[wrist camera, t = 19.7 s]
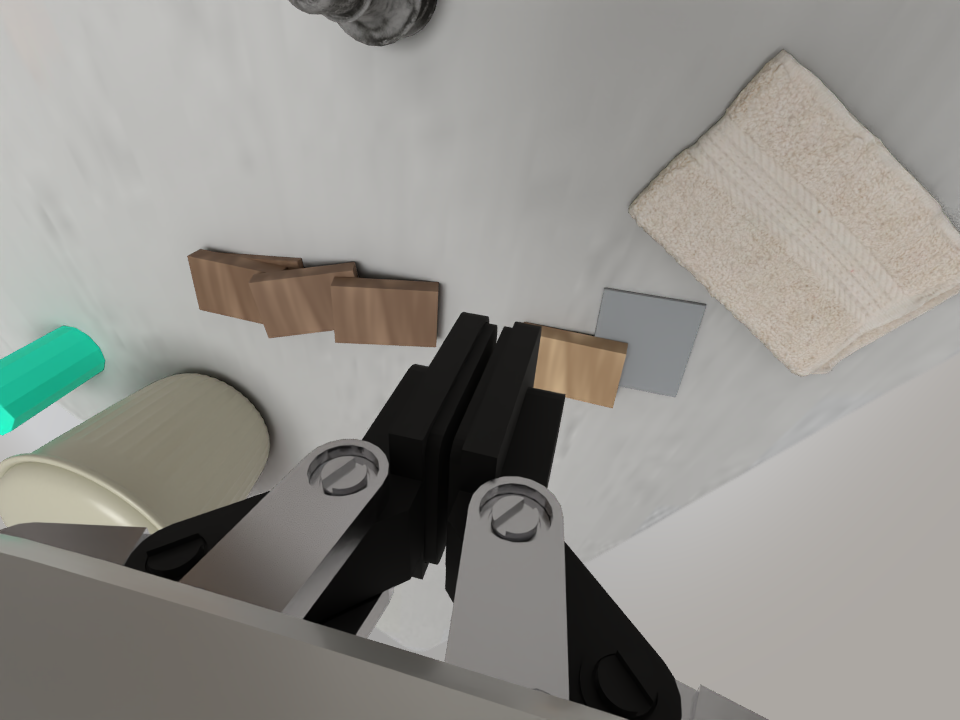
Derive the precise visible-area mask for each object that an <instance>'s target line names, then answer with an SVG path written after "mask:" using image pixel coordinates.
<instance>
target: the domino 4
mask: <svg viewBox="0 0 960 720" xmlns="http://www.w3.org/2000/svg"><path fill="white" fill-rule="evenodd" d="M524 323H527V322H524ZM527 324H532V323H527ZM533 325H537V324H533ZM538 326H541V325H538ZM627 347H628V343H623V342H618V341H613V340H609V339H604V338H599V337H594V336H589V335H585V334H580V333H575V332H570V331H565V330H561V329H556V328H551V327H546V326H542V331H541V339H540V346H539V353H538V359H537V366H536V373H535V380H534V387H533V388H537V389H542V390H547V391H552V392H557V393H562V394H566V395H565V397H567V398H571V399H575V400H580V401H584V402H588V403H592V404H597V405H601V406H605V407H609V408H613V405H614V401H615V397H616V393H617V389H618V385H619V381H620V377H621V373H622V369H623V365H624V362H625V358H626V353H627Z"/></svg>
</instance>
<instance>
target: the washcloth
mask: <svg viewBox="0 0 960 720" xmlns="http://www.w3.org/2000/svg"><path fill="white" fill-rule="evenodd" d="M628 213H629V214H630V215H631V216H632V218H633V219H636V221H637V225H638V226H639V227H643V229H644V231H645V232H647V233H648V234H649V235H650V236H651V237H652V238H653V239H654V240H655V241H657V242H658V243H659V244H660V245H661V246H663V247H664V248H665V250H666V252H667V253H668V254H670V255H671V256H673V257H674V258H675V260H676V262H678V263H679V264H680V265H681V266H682V267H684V268H686V269H687V270H688V271H689V272H690V273H692V274H693V275H694V277H695V278H696V280H697V281H699V282H700V283H702V284H703V285H704V286H705V287H706V289H707V290H708V292H709V294H710V295H711V297H715V298H716V299H717V300H719V301H720V303H722V304H724V306H725V307H726V309H727V310H729V311H731V313H732V314H733V316H734V317H735V318H736V319H738V320H739V321H740V322H741V323H743V324H744V325H746V327H747V328H748V329H749V330H750V331H751V333H752V334H753V335H755V337H756V338H758V339H760V342H761V343H764V345H765V347H766V348H768V349H769V350H770V351H771V352H772V353H773V355H774V357H775V358H777V359H778V360H779V361H781V362H782V363H783V364H784V365H785V366H786V367H787V368H788V369H789V370H791V373H794V374H795V375H798V376H800V377H804V376H807V375H809V374H826V373H829V372H830V371H832V369H833V368H834V367H835V366H836V365H837V364H838V362H839V361H841V360H843V359H844V358H846V357H848V356H849V355H851V354H852V353H853V352H855V351H856V350H858V349H860V348H862V347H864V346H866V345H868V344H870V343H872V342H873V341H875V340H877V339H878V338H880V337H882V336H884V335H885V334H887V333H889V332H891V331H893V330H895V329H896V328H898V327H900V326H902V325H903V324H905V323H907V322H909V321H911V320H913V319H915V318H917V317H919V316H921V315H923V314H924V313H926V312H928V311H929V310H931V309H933V308H934V307H936V306H937V305H939V304H941V303H943V302H944V301H945V300H947V299H949V298H951V297H952V296H954V295H956V294H958V293H959V292H960V232H959V231H958V230H957V229H956V228H955V227H954V226H953V225H952V223H951V221H950V220H949V218H948V217H947V216H946V215H945V214H944V212H943V211H942V207H941V205H940V204H939V203H938V201H937V200H936V199H934V198H933V197H932V196H931V194H930V193H929V192H928V191H927V190H926V189H925V188H924V187H923V186H922V185H921V184H920V183H919V182H918V181H917V180H916V179H915V178H914V177H913V176H912V175H911V174H910V173H909V172H908V171H907V170H906V169H905V168H904V167H903V166H902V165H901V164H900V163H899V162H898V161H897V160H896V159H895V158H894V157H893V156H892V155H891V153H890V152H889V151H888V149H886V148H885V147H884V145H883V143H882V142H881V141H880V140H879V139H878V138H877V137H876V136H875V135H873V134H871V132H870V131H869V130H868V129H867V128H865V127H864V126H863V125H862V124H861V123H860V122H859V121H858V120H857V119H856V118H855V117H854V116H853V115H852V114H851V113H850V112H849V111H848V110H847V109H846V108H845V106H844V105H843V104H842V103H841V101H840V100H839V99H838V98H837V97H836V95H835V94H834V93H832V92H831V91H830V90H829V89H828V88H827V87H826V86H825V85H824V84H823V83H822V82H821V80H820V79H819V78H817V77H816V76H815V75H814V74H813V73H811V71H810V70H808V69H806V68H805V67H803V66H802V65H800V64H799V63H798V62H797V61H796V60H795V59H794V57H793V56H792V55H790V54H789V53H788V52H786V51H785V50H784V49H783V50H781V51H780V53H779V54H778V55H776V56H775V57H774V58H773V59H772V60H770V61H769V62H768V63H766V64H765V66H764V67H763V68H762V69H761V70H760V72H759V73H758V74H757V75H756V76H755V77H754V78H753V79H752V80H751V82H750V83H749V84H748V85H747V86H746V88H744V89H743V90H742V91H741V92H740V94H739V95H738V96H737V98H736V99H735V100H734V101H733V103H732V104H731V105H730V107H728V108H727V109H726V114H725V115H724V116H723V117H722V118H721V119H720V120H719V121H718V122H717V123H716V124H715V125H714V126H712V127H711V128H710V129H709V130H708V132H707V133H706V134H704V135H702V136H701V137H700V139H699V140H698V141H697V143H695V144H694V145H693V146H691V147H690V148H688V149H685V150H683V151H682V152H681V153H680V154H679V155H678V156H677V157H676V158H675V159H673V160H672V161H671V162H670V164H669V165H668V166H667V167H666V168H665V169H663V170H662V171H661V172H660V173H659V175H658V176H657V177H656V178H655V179H654V180H652V181H651V182H650V184H649V186H648V187H647V188H645V189H644V190H643V192H642V193H640V194H639V195H638V197H637V198H636V199H635V200H634V201H633V202H632V204H631V205H630V206H629V211H628Z"/></svg>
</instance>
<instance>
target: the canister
mask: <svg viewBox="0 0 960 720" xmlns="http://www.w3.org/2000/svg"><path fill="white" fill-rule="evenodd" d="M269 448H270V441H269V434H268V432H267V426H266V425H265V424H264V419H263V418H262V417H261V416H260V413H259V411H257V410H256V409H255V407H254V405H253V404H251V403H250V402H249V400H248V398H246V397H244V396H243V395H242V394H241V392H238V391H237V390H235V389H234V388H233V387H232V386H229V385H227V384H226V383H225V382H222V381H219V380H218V379H216V378H211V377H209V376H207V375H200V374H196V373H194V374H190V373H184V374H177V375H172V376H168V377H166V378H163V379H161V380H158V381H156V382H154V383H152V384H150V385H148V386H146V387H144V388H143V389H141V390H139V391H137V392H135V393H134V394H132V395H130V396H128V397H126V398H124V399H123V400H121V401H119V402H117V403H116V404H114V405H112V406H110V407H109V408H107V409H105V410H103V411H102V412H100V413H98V414H96V415H95V416H93V417H91V418H90V419H88V420H86V421H85V422H83V423H81V424H80V425H78V426H76V427H74V428H73V429H71V430H69V431H67V432H66V433H64V434H62V435H60V436H59V437H57V438H55V439H54V440H52V441H51V442H49V443H47V444H45V445H44V446H42V447H40V448H39V449H37V450H35V451H34V452H32V453H30V454H19V455H15V456H12V457H9V458H7V459H5V460H3V461H2V462H1V463H0V516H1V518H2V520H3V522H4V523H5V525H6V527H10V526H13V525H16V524H21V523H31V522H44V523H66V524H87V525H108V526H130V527H147V529H148V531H149V534H153V533H155V532H156V531H158V530H160V529H162V528H165V527H167V526H169V525H171V524H174V523H177V522H180V521H183V520H186V519H189V518H192V517H194V516H197V515H200V514H203V513H206V512H209V511H212V510H215V509H218V508H221V507H224V506H227V505H230V504H233V503H236V502H239V501H242V500H245V499H246V498H247V496H248V494H249V493H250V491H251V489H252V488H253V486H254V484H255V483H256V481H257V479H258V478H259V476H260V474H261V473H262V471H263V469H264V467H265V464H266V461H267V459H268V456H269Z"/></svg>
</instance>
